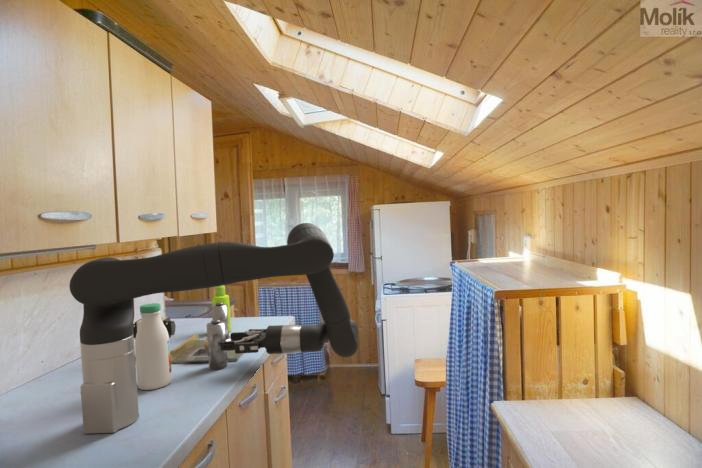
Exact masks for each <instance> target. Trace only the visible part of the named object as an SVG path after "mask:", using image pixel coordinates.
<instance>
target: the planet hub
mask: <svg viewBox="0 0 702 468" xmlns="http://www.w3.org/2000/svg"><path fill="white" fill-rule="evenodd" d="M206 337H207V341H208V358H209V362H208V368H210V369H209V370H211V369H213V370H212V371H219V369H220V370H223V369H225V368H227V367H228V361H227V350H226V351H222V350H221V349H220V343H221V342H224V341H226V332H225V322H223V321H220V320H219V319H217V320H211V321H210V322H209V323H208V322H207V324H206Z"/></svg>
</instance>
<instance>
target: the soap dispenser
mask: <svg viewBox="0 0 702 468" xmlns="http://www.w3.org/2000/svg"><path fill="white" fill-rule="evenodd" d="M214 289H215V291H214V292H215V295H214V296H212V297H211V301H212V302H211V303H212V305H211V306H213V305H216V304H215V303H218V302H223V304H227V309H228V327H229V334H231V333H232V323H231V321H232V319H231V305H230V295H229V294H226V285H222V286H216V287H214Z"/></svg>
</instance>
